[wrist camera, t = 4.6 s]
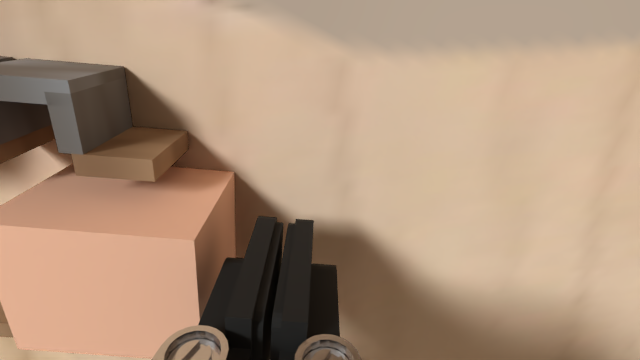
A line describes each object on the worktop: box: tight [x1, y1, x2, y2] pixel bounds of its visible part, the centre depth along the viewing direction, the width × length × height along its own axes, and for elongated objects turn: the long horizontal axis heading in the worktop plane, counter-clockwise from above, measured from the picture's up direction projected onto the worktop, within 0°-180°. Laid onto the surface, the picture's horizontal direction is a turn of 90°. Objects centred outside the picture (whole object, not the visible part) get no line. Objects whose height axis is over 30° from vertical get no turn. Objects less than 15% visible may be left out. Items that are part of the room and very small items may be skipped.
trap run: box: [0, 56, 189, 337], centre depth 11 cm, size 10×8×2 cm
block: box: [0, 164, 236, 359], centre depth 11 cm, size 5×4×4 cm
